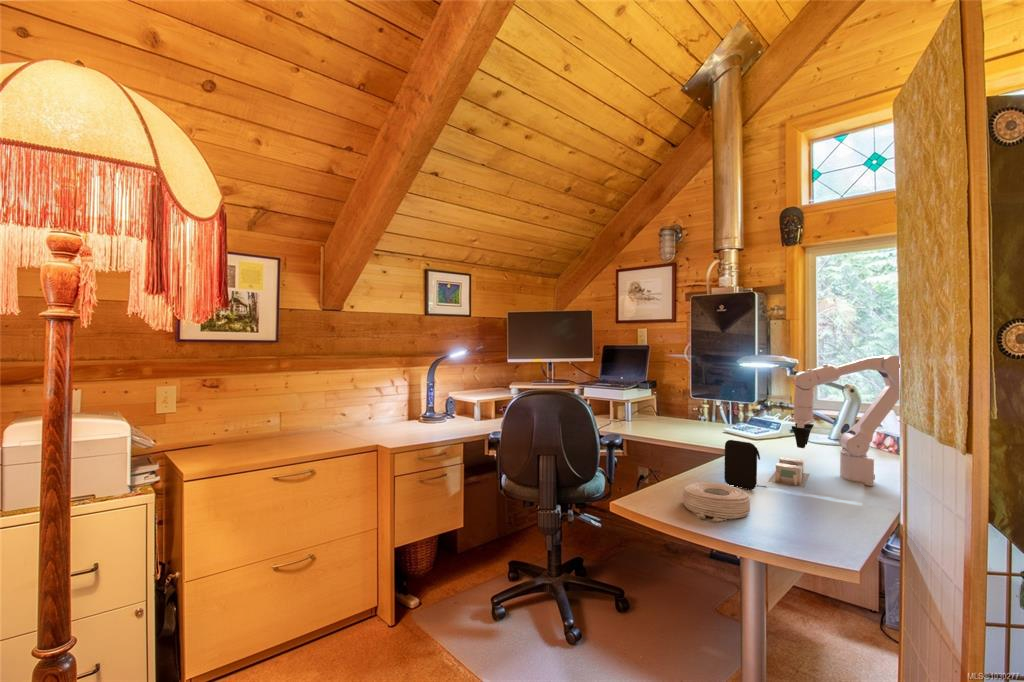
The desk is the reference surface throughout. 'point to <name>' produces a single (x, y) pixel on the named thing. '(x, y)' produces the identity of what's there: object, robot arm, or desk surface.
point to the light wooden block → (789, 472)
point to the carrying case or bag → (741, 464)
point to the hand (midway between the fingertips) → (802, 445)
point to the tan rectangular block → (793, 462)
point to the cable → (716, 501)
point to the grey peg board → (776, 480)
